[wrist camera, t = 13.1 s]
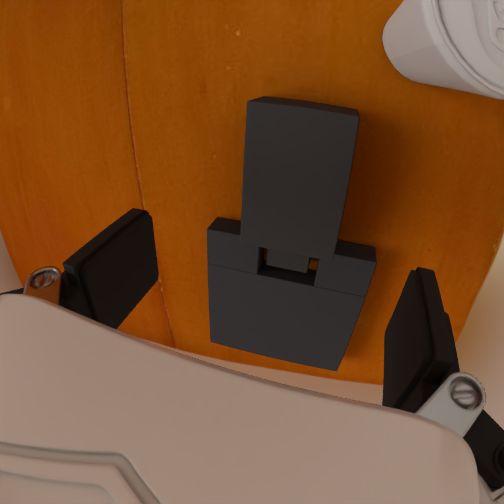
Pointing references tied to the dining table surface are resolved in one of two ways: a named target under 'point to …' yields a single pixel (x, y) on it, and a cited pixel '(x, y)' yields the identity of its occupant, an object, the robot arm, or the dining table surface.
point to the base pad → (284, 299)
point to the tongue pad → (296, 178)
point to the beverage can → (449, 44)
